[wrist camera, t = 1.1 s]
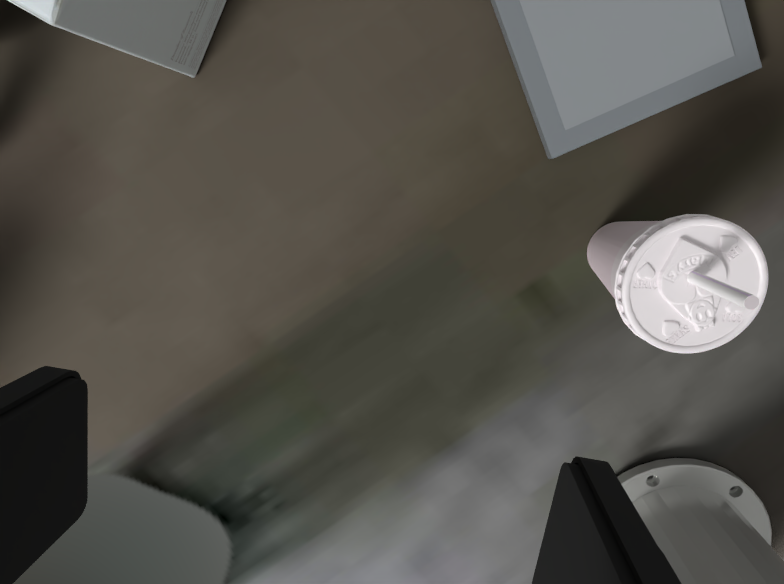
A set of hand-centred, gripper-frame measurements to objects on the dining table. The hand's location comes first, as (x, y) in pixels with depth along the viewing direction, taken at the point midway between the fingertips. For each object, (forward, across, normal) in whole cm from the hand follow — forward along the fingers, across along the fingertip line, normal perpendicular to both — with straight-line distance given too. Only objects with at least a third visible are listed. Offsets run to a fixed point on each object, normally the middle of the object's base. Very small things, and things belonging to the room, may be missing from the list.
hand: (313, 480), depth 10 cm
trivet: (+24, -10, -16) cm, 31 cm away
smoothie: (+25, -13, -3) cm, 28 cm away
